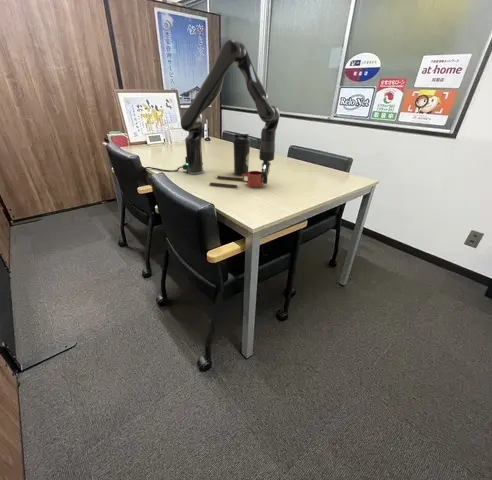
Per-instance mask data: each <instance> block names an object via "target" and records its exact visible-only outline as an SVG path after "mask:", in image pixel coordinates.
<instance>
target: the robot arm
mask: <svg viewBox="0 0 492 480" xmlns="http://www.w3.org/2000/svg"><path fill="white" fill-rule="evenodd" d="M232 65H235V66H236V67H237V68H238V69H239V71H240V72H241V74H242V77H243V79H244V83H245V87H246V90H247V92H248V94H249V96H250V98H251V99H252V101H253V103H254V106H255V108H256V112H257V115H258V117H259V118H260V120H261V121H262V122H263V123H264V126H263V127H262V129H261V131H260V143H259V154H258V155H259V160H260V161H262V164H261V172H262V177H263V185H264V184H265V185H267V184H268V179H269V178H268V177H269V174H270V169H271V162H272V161H274V160H275V152H276V131H277V129H278V125H279V121H280V109H279V108H278V107H277V106H276V105H274V104H273V105H270V103H269V101H268V100H269V94H268V92H267V91H266V89H265V87H264V85H263V84H262V81H261V80H260V78H259V76H258V74H257V72H256V70H255V68H254V66H253V62H252V60H251V58H250V55H249V52H248V50H247V47H246V45H245V44H244V43H243V42H242V41H240V40H237V39H233V38H230V39H227V40H226V41H224V43H223V44H222V45H221V48H220V50H219V51H218V54H217V57H216V59H215V61H214V63H213V65H212V67H211V69H210V70H209V72H208V74H207V76H206V77H205V79H204V81H203V82H202V84H201V86H200V88H199V89H198V92H197V93H196V95H195V97H194V98H193V100H192V102H191V103H190V105H189V106H188V107H187V109H186V110H185V111H184V112H183V114H182V116H181V117H180V127H181V129H182V130H183V131H185V132H188V135H187V136H186V137H185V139H184V142H185V153H186V156H185V158H184V159H185V163H184V164H183V165H181V166H178V167H177V169H174V170H172V169H171V170H170V169H163V168H158V167H151V166H145V167H144V168H143V170H147V169H151V170H157V171H160V172H161V171H162V172H169V173H171V172H172V173H173V172H178V171H179V170H180V169H182V170H185V171H186V174H190V175H200V174H203V173H204V166H203V165H204V162H203V147H202V139H203V119H202V117H201V114H203V113H204V112H205V111H206V110H207V109H208V108H210V107H211V106H212V105H213V104H214V102H216V100H217V99H218V98H219V96H220V93H221V92H222V88H223V84H224V78H225V76H226V75H227V72H228V71H229V69H230V68H231V67H232Z"/></svg>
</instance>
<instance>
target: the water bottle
mask: <svg viewBox="0 0 492 480" xmlns="http://www.w3.org/2000/svg"><path fill="white" fill-rule="evenodd" d="M249 136H250V134H249V133H243V134H239V133H235V135H234V138H233V139H232V144H233V174H234V176H236V177H242V174H248V172H249V168H250V167H249V165H250V164H249V163H250V150H251V149H250V148H251V143H252V140H251V139H250V137H249Z"/></svg>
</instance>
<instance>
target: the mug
mask: <svg viewBox="0 0 492 480" xmlns="http://www.w3.org/2000/svg"><path fill="white" fill-rule="evenodd" d="M245 177H247V180H245ZM241 178H242V181H241V182H242V183H244V184H245V183H246V185H247V187H248V188H251V189H260V188H263V185H264V184H263V177H262V171H260V170H250V171H248V174H242V176H241Z"/></svg>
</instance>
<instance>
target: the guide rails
mask: <svg viewBox="0 0 492 480" xmlns="http://www.w3.org/2000/svg"><path fill="white" fill-rule="evenodd" d="M216 179H217V180H227V181H235V182H236V181H237V182H242V177H239V176H236V177H235V176H227V175H226V176H225V175H217V177H216ZM209 186H211V187H219V188H220V187H221V188H230V189H238V184H232V183H222V182H212V181H211V182H209Z"/></svg>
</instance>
